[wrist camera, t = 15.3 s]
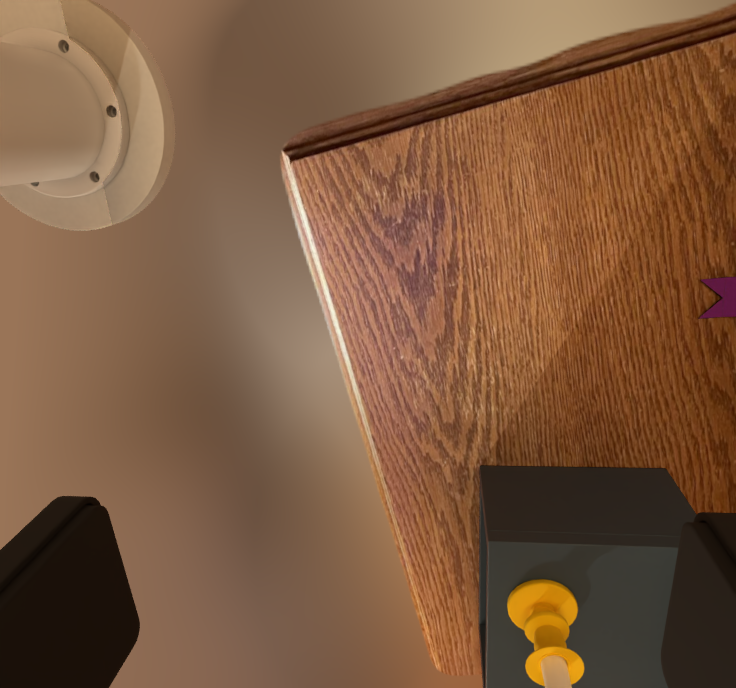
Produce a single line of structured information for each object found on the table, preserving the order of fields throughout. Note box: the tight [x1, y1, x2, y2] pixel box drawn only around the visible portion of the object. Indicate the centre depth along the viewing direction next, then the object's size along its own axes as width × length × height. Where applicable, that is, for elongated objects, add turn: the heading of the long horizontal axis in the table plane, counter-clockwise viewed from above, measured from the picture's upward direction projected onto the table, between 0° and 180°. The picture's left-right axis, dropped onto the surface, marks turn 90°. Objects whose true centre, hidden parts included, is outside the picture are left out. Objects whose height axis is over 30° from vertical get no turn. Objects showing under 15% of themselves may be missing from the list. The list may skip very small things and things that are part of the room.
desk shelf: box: [479, 466, 696, 688], centre depth 46 cm, size 16×20×14 cm
